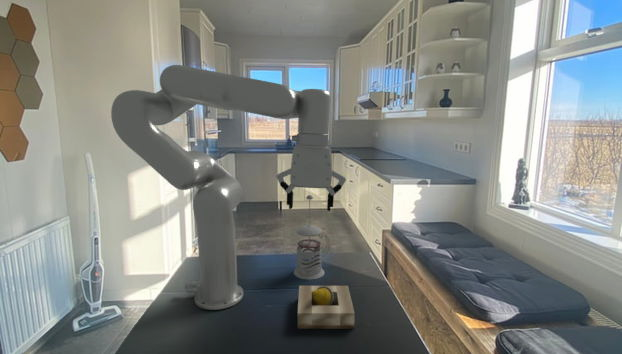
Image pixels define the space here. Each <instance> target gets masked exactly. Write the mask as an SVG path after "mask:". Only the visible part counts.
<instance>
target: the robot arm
mask: <svg viewBox="0 0 622 354" xmlns="http://www.w3.org/2000/svg"><path fill="white" fill-rule="evenodd" d="M159 84H160V87H161V89H160V90H159V91H157V92H152V91H146V90H139V89H134V90H133V89H131V90H127V91H124V92H121V93H119V94H118V95H117V96H116V97H115V98H114V100H113V102H112V104H111V105H112V106H111V112H110V116H111V123H112V127H113V128H114V131H115V133H116V135H117V136H118V137H119V139H121V141H122V142H123V143H124V144H125V145H126V146H127V147H128V148H129V149H130V150H132V151H133V152H134V153H135V154H136V155H137V156H138V157H141V159H142V160H143V161H145V163H147V164H148V165H149V166H150V167H151V168H152V169H153V170H154V171H156V172H157V174H159V175H160V176H161V177H162V178H163V179H164V180H165V181H166V182H167V183H169V184H170V185H171V186H173V187H174V188H175V189H177V190H181V191H186V190H190V189H194V188H196V189H198V190H197V191H196V193H195V195H194V198H193V201H192V210H193V214H194V219H195V224H196V231H197V232H196V233H197V234H196V235H197V245H198V248H197V250H198V267H199V280H197V281H186V282H185V285H184V289H185V290H186V293H190V294H192V293H195V295H194V303H195V304H196V306H197V307H198V308H200V309H204V310H210V311H213V310H214V311H217V310H223V309H227V308H230V307H233V306H235V305H237V304H238V303H239V302H240V301H242V299H243V297H244V289H243V288H242V287H241V285H238V269H237V267H238V266H237V240H236V235H237V234H236V225H235V219H234V215H233V214H234V210H235V209H236V207H237V206H238V205H240V203H241V202H242V199H243V193H244V192H243V187H242V185H241V184H240V182H239V181H238V180H237V179H236V178H235V177H234V176H233V175H232V174H231V173H230V172H229V171H228V170H226V169H225V168H224V167H223V166H222V165H221V164H220V163H218V161H216V160H215V159H214V158H213V157H211V156H210V155H209V154H207V153H205V152H203V151H200V150H186V149H185V148H183V147H182V146H181V145H180V144H178V143H177V142H176V141H175V140H174V139H173V138H172V137H171V136H169V135H168V134H167V133H165V132H163V131H162V130H161V129H159V128H158V127H156V126H163V125H167V124H169V123H171V122H173V121H174V120H176V119H177V118H179V117H180V116H182V115H183V114H185V113H186V112H188V111H189V110H191V109H193V108H194V107H195V106H196V105H199V106H204V107H208V108H209V107H210V108H215V109H220V110H224V111H238V112H244V113H249V114H253V115H254V114H255V115H260V116H264V117H269V118H274V119H278V120H279V119H281V120H292V119H298V121H297V134H294V135H291V141H292V142H295V143H296V145H294V147H293V148H292V149H293V150H292V155H291V163H290V168H288V169H286V170H284V171H281V172H280V173H279V172H278V173H277V175H276V179H277V181H278V183H279V186H280V187H281V188H282V189H283V191H285V193H286V206H288V209H289V210H292V209H293V207H294V192H293V191H294V189H296V188H304V189H305V188H307V189H326V190H327V192H328V194H327V205H326V208H327V211H328V212H330V211H331V208H333V207H334V198H335V197H334V196H335V195H336V193H338V192H339V191H340V190H341V189H342V187H343V186H344V184H345V182H346V180H347V179H346V176H343V175H342V174H340V173H338V172H336V171H335V170H333V155H332V154H333V153H332V149H331V147H329V132H330V131H329V129H330V114H331V112H330V109H331V94H330V92H329V91H328V90H326V89H320V88H319V89H318V88H305V89H302V90H295V89H292V88H290V87H288V86H286V85H285V84H281V83H276V82H272V81H271V82H270V81H267V80H266V81H265V80H261V79H256V78H251V77H243V76H238V75H235V74H229V73H226V72H225V73H224V72H219V71H213V70H209V69H203V68H199V67H194V66H189V65H182V64H173V65H170V66H167V67H165V68H164V69H163V70H162V72H161V73H160V77H159ZM289 175H290V177H289V178H290V179H289V181H290V184H288V183H287V182H286V181H285V179H284V178H285V177H287V176H289ZM332 178H335V180H338V182H337V183H336V185H335V186H332Z"/></svg>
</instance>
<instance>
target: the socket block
mask: <svg viewBox="0 0 622 354" xmlns="http://www.w3.org/2000/svg"><path fill="white" fill-rule="evenodd" d="M319 287H327V288H329V289H330V290H331V291H332V292H333V295H334V301H333V303H332V305H331V306H315V305H314V302H313V294H312V291H314V290H317V289H318V288H319ZM349 289H350V288H349V286H348V285H299V286H298V303H297V329H301V330H302V329H305V330H306V329H308V330H309V329H314V330H315V329H316V330H317V329H319V330H320V329H321V330H323V329H328V330H330V329H337V330H338V329H340V330H341V329H345V330H346V329H349V330H351V329H353V330H354V329H355V318H356V317H355V309H354V304H353V301H352V298H351V297H352V296H351V293H350V290H349Z"/></svg>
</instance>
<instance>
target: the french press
mask: <svg viewBox="0 0 622 354" xmlns="http://www.w3.org/2000/svg"><path fill="white" fill-rule="evenodd" d="M306 199H307V200H309V201H308V203H309V205H308V206H309V209H308V210H309V211H308V212H309V213H308V214H309V217H308V218H309V219H308V220H309V221H308V225H307V224H306V225H302V226H300V227H299V228H297V229H296V233H297V234H298V235H299V236H303V237H308V239H301V240H299V241H298V242H297V244H298V246H297V247H296V268H295V269H294V271H293V275H294V276H295V277H297V278H299V279H302V280H316V279H319V278H322V277H323V276H324V275H325V271H324V269H323V268H322V264H323V257H325V255H327V254H328V252H329V249H330V245H331V242H330V239H329V237H328V236H327V235H326V234H324V233H323V229H322V228H320V227H319V226H317V225H313V224H311V200H313V196H312V195H309V194H308V195H307V196H306ZM317 236H318V237H319V238H320V239H322V238H323V236H324V237H325V240H326V241H327V242H328V244H326V245H325V248H324V250H323V251H322V247H320V246H321V242H320V241H319V240H318V239H312V238H311V237H317ZM326 250H327V251H326ZM322 254H323V255H322Z"/></svg>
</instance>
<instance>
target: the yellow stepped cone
mask: <svg viewBox="0 0 622 354" xmlns="http://www.w3.org/2000/svg"><path fill="white" fill-rule="evenodd" d="M312 294H313V302H314V305H315V306H331V305H332V303H333V301H334V295H333V292H332V291H331V290H330V289H329V288H327V287H319V288H318V289H317V290H314V291H312Z"/></svg>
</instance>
